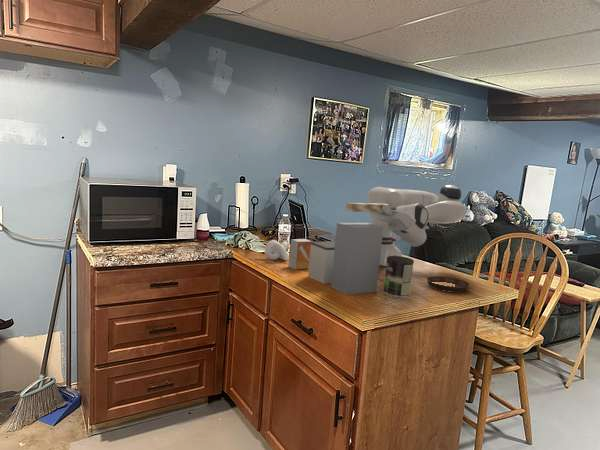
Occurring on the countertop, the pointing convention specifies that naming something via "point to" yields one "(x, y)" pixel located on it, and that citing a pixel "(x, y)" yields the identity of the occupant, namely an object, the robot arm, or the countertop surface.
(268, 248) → the grey rounded lump
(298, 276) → the countertop surface
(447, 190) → the robot arm
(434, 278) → the plant saucer
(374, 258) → the grey stand
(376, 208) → the birch slat
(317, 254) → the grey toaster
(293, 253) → the small box
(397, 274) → the coffee can
